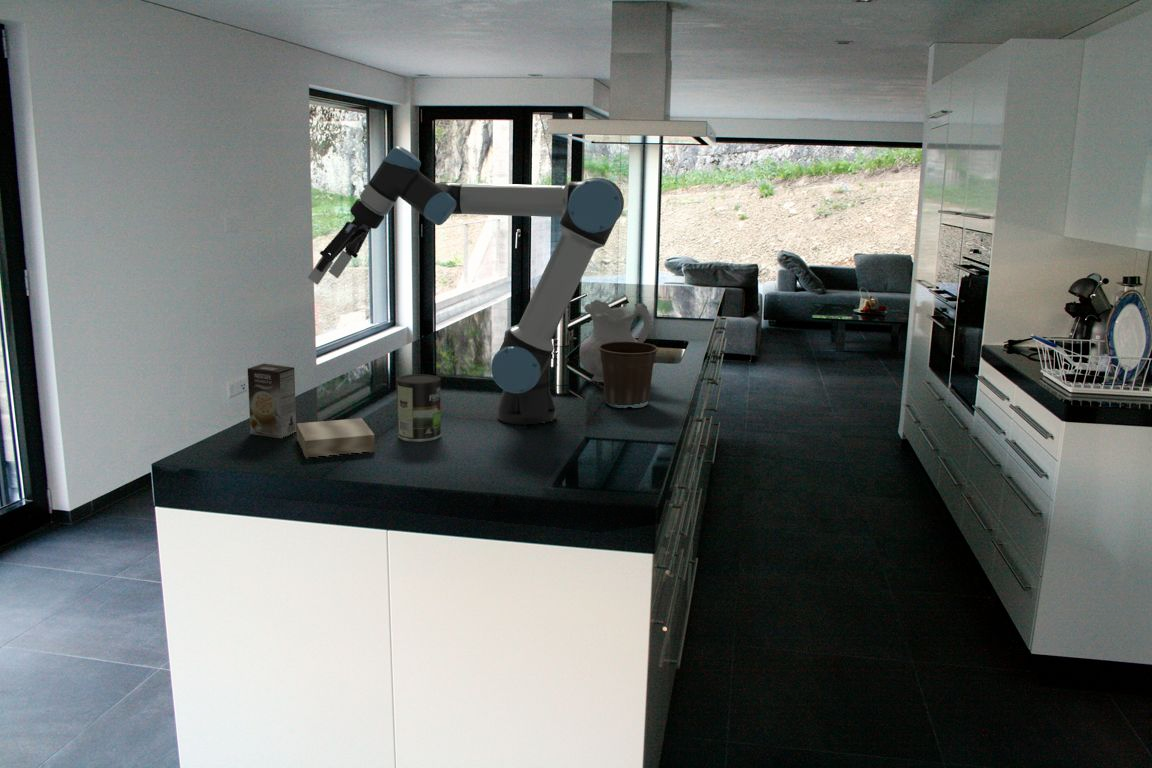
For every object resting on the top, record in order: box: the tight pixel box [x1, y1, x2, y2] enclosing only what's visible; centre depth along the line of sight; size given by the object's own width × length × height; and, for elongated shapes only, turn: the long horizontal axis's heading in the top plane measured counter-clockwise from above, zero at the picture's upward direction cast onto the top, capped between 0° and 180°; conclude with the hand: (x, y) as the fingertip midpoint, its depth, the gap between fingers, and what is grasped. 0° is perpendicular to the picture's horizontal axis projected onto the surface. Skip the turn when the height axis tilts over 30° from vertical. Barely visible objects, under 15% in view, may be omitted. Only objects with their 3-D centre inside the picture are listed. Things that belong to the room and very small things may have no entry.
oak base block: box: [296, 417, 376, 459], centre depth 216 cm, size 15×15×4 cm
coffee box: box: [247, 363, 297, 439], centre depth 223 cm, size 9×6×16 cm
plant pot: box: [598, 342, 659, 405], centre depth 259 cm, size 16×16×16 cm
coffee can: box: [395, 373, 442, 443], centre depth 224 cm, size 10×10×14 cm
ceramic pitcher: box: [579, 299, 651, 382], centre depth 286 cm, size 22×20×25 cm
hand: (323, 278), depth 228 cm, fingers open, 13 cm apart
